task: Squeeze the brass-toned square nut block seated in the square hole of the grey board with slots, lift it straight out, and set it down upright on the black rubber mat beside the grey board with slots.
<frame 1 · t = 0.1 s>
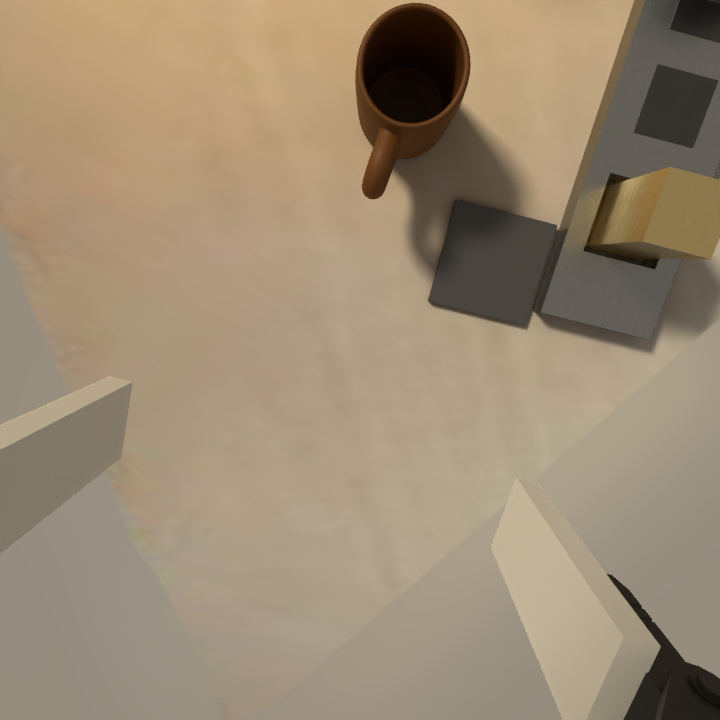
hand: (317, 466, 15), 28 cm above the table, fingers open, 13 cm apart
grey board with slots: (637, 176, 39), on the table
mug: (393, 140, 39), on the table
rubber mat: (489, 264, 41), on the table
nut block: (620, 223, 40), resting in grey board with slots
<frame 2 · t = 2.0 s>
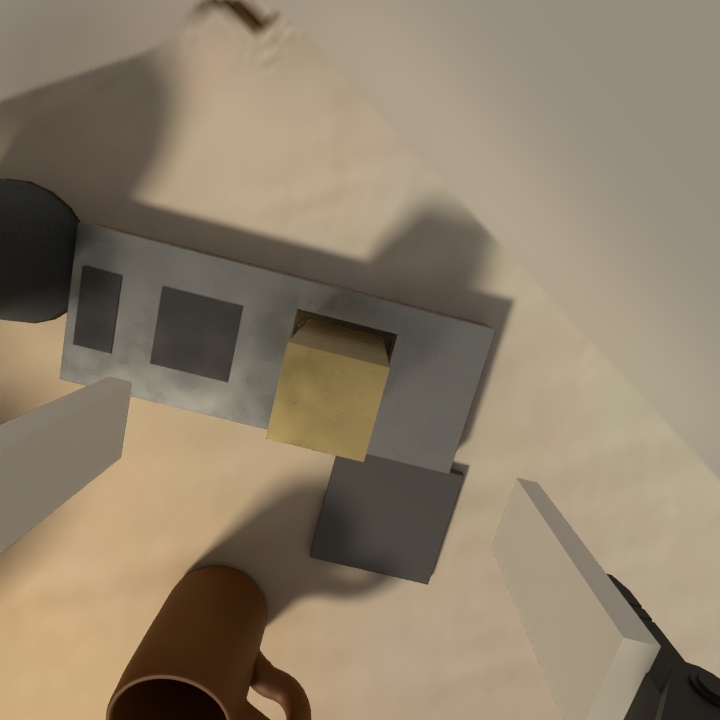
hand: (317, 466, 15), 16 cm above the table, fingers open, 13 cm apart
grey board with slots: (279, 348, 31), on the table
mug: (248, 611, 35), on the table
mug 2: (2, 247, 30), on the table
rubber mat: (384, 512, 33), on the table
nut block: (337, 363, 31), resting in grey board with slots
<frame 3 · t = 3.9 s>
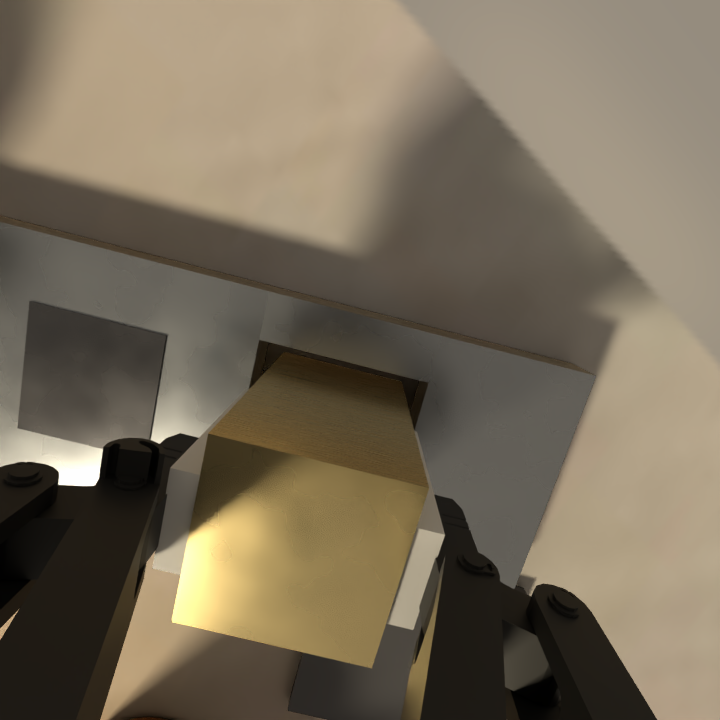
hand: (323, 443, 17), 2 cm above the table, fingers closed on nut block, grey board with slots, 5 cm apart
grey board with slots: (236, 399, 19), on the table
rubber mat: (402, 645, 22), on the table
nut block: (329, 422, 19), resting in grey board with slots, touching gripper
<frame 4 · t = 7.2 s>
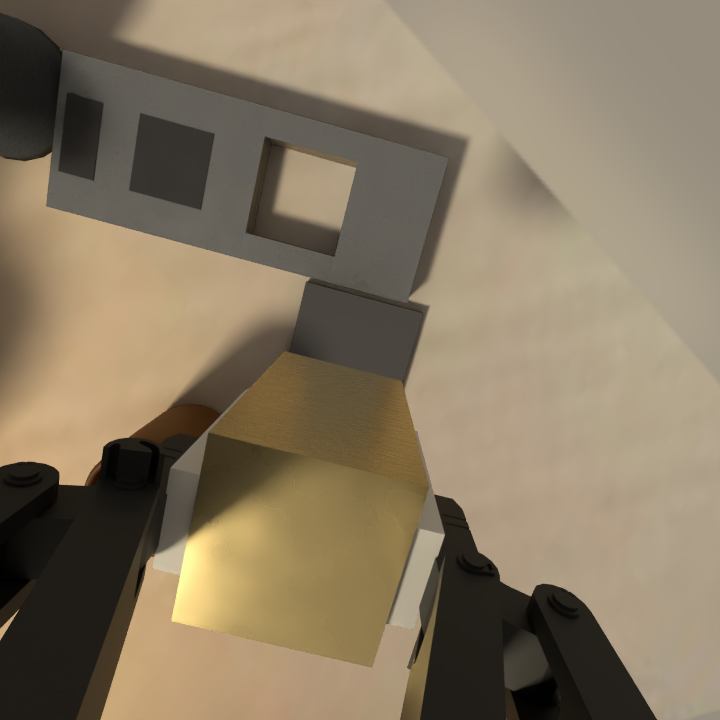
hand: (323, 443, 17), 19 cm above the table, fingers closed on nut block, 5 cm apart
grey board with slots: (250, 187, 33), on the table
mug: (223, 453, 38), on the table
rubber mat: (349, 353, 35), on the table
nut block: (329, 421, 19), point 16 cm above the table, touching gripper
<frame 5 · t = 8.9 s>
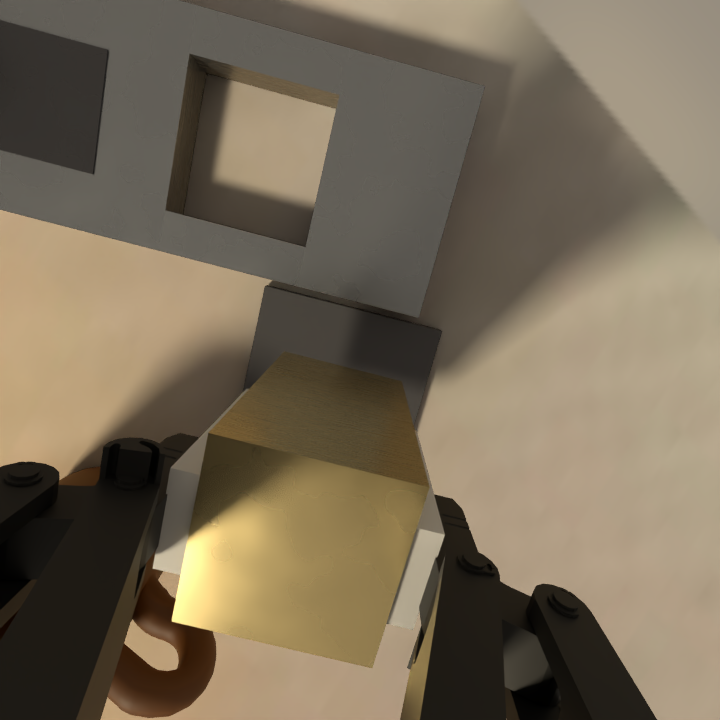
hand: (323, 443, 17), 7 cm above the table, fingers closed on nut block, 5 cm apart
grey board with slots: (177, 141, 21), on the table
mug: (154, 533, 26), on the table
rubber mat: (333, 390, 24), on the table
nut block: (329, 421, 19), point 5 cm above the table, touching gripper
when the fingers open (4 cm above the table, at t = 10.1 s): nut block drops 1 cm, resting on rubber mat.
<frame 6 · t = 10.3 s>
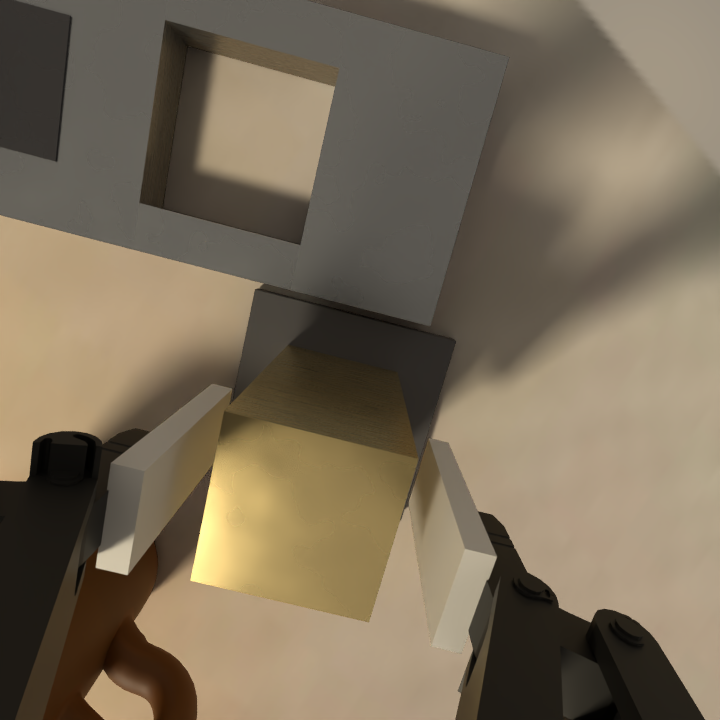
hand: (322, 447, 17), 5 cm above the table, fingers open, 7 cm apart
grey board with slots: (155, 125, 19), on the table
mug: (134, 563, 24), on the table
rubber mat: (333, 406, 21), on the table
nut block: (330, 410, 21), point 1 cm above the table, touching rubber mat
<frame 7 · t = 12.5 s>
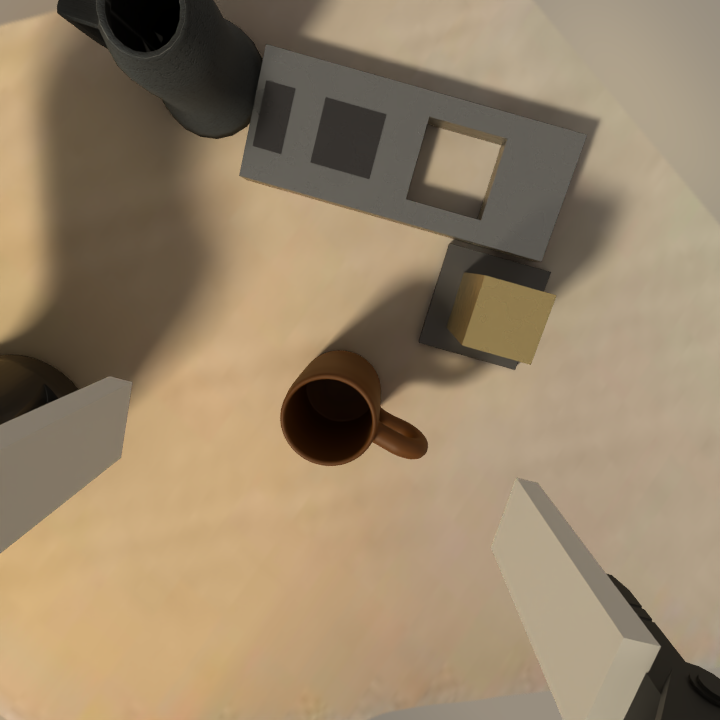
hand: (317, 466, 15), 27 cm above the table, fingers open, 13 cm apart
grey board with slots: (406, 161, 38), on the table
mug: (363, 395, 43), on the table
mug 2: (196, 75, 38), on the table
rubber mat: (481, 307, 41), on the table
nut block: (482, 307, 40), point 1 cm above the table, touching rubber mat
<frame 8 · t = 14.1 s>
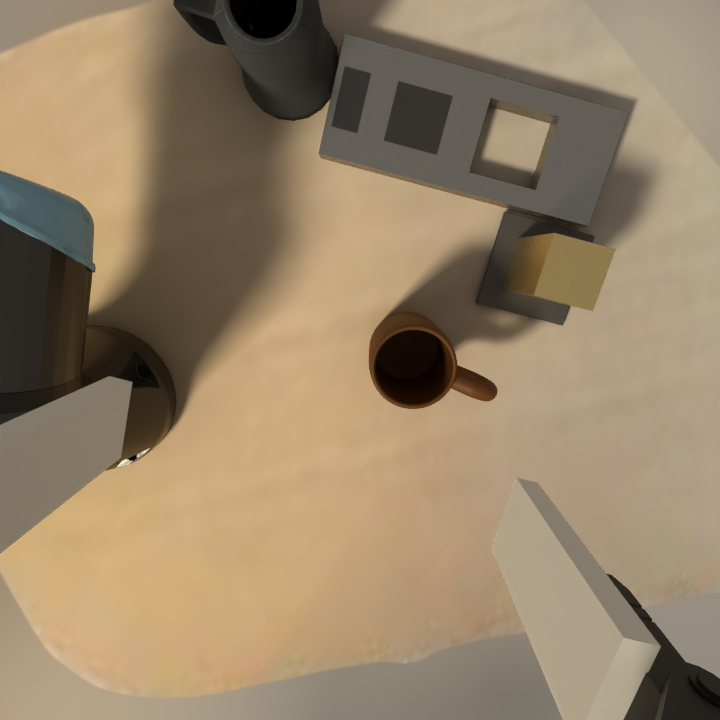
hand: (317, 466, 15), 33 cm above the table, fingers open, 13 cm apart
grey board with slots: (466, 139, 43), on the table
mug: (424, 354, 48), on the table
mug 2: (275, 63, 42), on the table
rubber mat: (532, 270, 45), on the table
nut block: (534, 270, 45), point 1 cm above the table, touching rubber mat
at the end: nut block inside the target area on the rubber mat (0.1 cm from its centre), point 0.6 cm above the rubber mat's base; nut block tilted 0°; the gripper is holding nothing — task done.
